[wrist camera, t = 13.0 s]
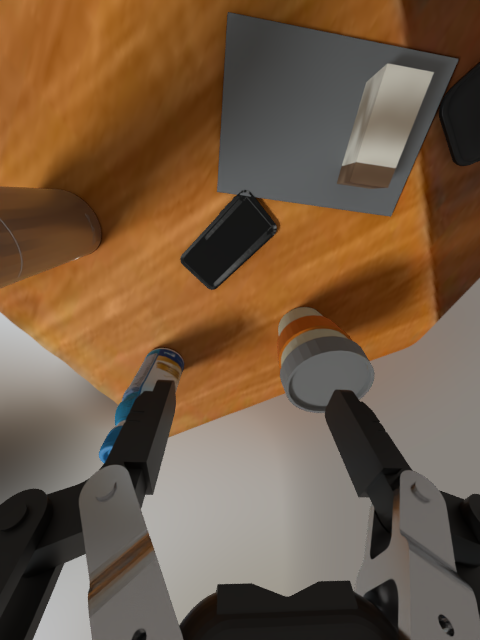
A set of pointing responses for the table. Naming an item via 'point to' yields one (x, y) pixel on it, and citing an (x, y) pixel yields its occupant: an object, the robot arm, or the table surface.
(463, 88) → the carrying case or bag
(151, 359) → the beverage bottle
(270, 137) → the mat
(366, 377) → the reusable coffee cup
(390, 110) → the tall grey rectangular block
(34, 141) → the table surface
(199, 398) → the table surface
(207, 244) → the phone
